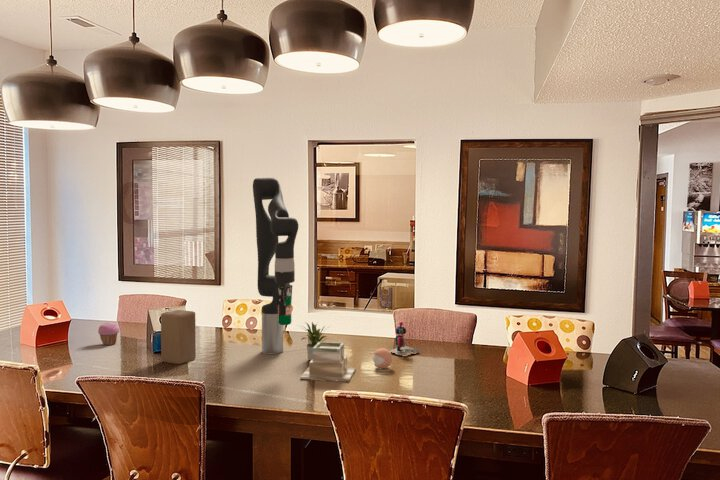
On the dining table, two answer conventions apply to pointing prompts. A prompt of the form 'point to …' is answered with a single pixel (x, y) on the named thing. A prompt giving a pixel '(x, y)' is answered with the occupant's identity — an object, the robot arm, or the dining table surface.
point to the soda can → (287, 318)
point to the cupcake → (108, 333)
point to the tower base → (328, 363)
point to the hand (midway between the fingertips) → (284, 313)
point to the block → (178, 336)
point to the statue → (402, 342)
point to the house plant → (313, 338)
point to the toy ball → (382, 358)
